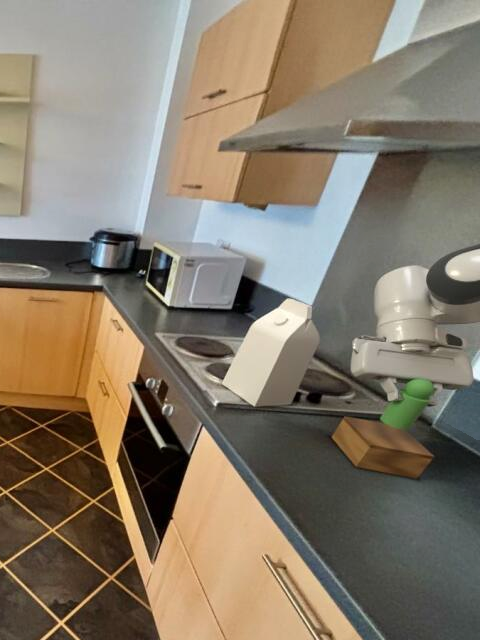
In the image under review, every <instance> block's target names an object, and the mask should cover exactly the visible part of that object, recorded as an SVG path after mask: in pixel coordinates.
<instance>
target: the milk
mask: <svg viewBox="0 0 480 640" xmlns="http://www.w3.org/2000/svg"><path fill="white" fill-rule="evenodd" d="M312 313H313V306H311V305H310V304H306V303H304V302H302V301H299V300H296V299H295V298H286V299H285V300H284V301H282V303H281V304H280V305H279V306H278V307H276V308H275V309H273V310H272V311H270V312H268V313H267V314H265V315H263V316H261V317H260V318H258V319H256V320H255V321H254V322H253V323H252V324H251V325H250V327H249V329H248V331H247V333H246V335H245V337H244V339H243V341H242V342H241V345H240V346H239V348H238V350H237V352H236V354H235V356H234V358H233V359H232V362H231V364H230V366H229V368H228V370H227V372H226V373H225V376H224V378H223V380H222V382H221V384H222V385H223V386H224V387H226V388H227V389H229V390H230V391H231V392H233V393H234V394H236V395H237V396H238V397H240V398H241V399H243V400H244V401H245V402H247V403H248V404H250V405H251V406H252V407H254V408H255V407H258V408H259V407H272V406H273V407H274V406H286V405H287V406H288V405H291V404H292V403H293V401H294V398H295V397H296V394H297V392H298V390H299V388H300V385H301V384H302V381H303V379H304V377H305V375H306V373H307V370H308V368H309V366H310V363H311V361H312V360H313V357H314V355H315V353H316V351H317V349H318V346H319V345H320V342H321V337H320V333H319V331H318V329H317V327H316V326H315V324H314V322H313V320H312V316H313V315H312Z"/></svg>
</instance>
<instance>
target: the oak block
mask: <svg viewBox="0 0 480 640" xmlns="http://www.w3.org/2000/svg"><path fill="white" fill-rule="evenodd" d="M331 438H332V440H333V441H334V442H335V443H336V445H337V446H338V447H339V449H341V451H342V452H343V453H344V454H345V456H346V457H347V458H348V459H349V460H350V461H351V463H352V464H353V465H354V466H355V467H356V468H360V469H365V470H371V471H375V472H381V473H386V474H390V475H395V476H400V477H405V478H410V479H418V478H419V477H420V475H421V474H422V473H423V472H424V470H425V469H426V468H427V467H428V466H429V464H430V463H431V462H432V461H433V459H434V458H435V455H434V454H433V453H431V452H430V451H429V450H428V449H427V448H426V447H425V446H424V445H422V443H420V442H419V441H418V440H417V439H416V438H415V437H414V436H412V435H411V433H409V432H408V430H402V429H397V428H394V427H392V426H389V425H387V424H385V423H384V422H380V421H373V420H367V419H363V418H357V417H351V416H344V417H343V418H342V420H341V421H340V422H339V424H338V425H337V428H336V429H335V431H334V432H333V434H332V436H331Z"/></svg>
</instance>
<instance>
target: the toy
mask: <svg viewBox="0 0 480 640" xmlns="http://www.w3.org/2000/svg"><path fill="white" fill-rule="evenodd" d="M434 389H435V388H434V385H433V384H432V383H431V382H430V381H428V380H425V379H414V380H411V381H410V382H408V383H407V384H405V387H404V388H401V389H399V390H398V392H403V401H399V402H392V401H390V403H389V404H388V406H387V407H386V408H385V410H384V411H383V413H382V414H381V416H380V417H379V420H380V421H381V423H385V424H387V425H389V426H392V427H394V428H397V429H402V430H406V431H408V430H410V429H411V428H412V427H413V425H414V424H415V423H416V422H417V420H418V419H419V417H420V416H421V414H422V413H423V412H424V411H425V410H426V408H427V407H428V406H427V405H428V404H429V403H430V401H431V399H430V398H429V396H431V395H432V394H433V392H434Z"/></svg>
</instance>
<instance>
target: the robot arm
mask: <svg viewBox="0 0 480 640" xmlns="http://www.w3.org/2000/svg"><path fill="white" fill-rule="evenodd" d="M373 312H374V315H375V317H376V319H377V324H376V328H375V335H374V336H373V335H367V334H361V335H359V336H356V337H354V338H353V340H352V342H351V345H352V353H351V360H350V373H351V374H352V375H353V377H355V378H360V379H366V380H374V381H379V385H380V387H381V388H382V389H383V390H384V392H385V393H386V394H387V397H386V398H387V401H388V402H391V401H392V402H399V401H403V392H398V391H399V390H398V388H397V386H396V385H395V384H396V383H397V384H403V385H406V384H407V383H408V382H410V381H411V380H414V379H425V380H428V381H430V382H431V383H432V384H433V385H434V388H435V389H434V392H433V394H432V395H431V396H429V398H430V399H431V401H430V403H429V404H428V405H427V407H429V408H431V407H436V406H437V405H438V397H439V396H440V394H441V393H442V391H443V390H449V391H456V390H461V389H464V388H468V387H470V386H471V385H472V384H473V382H474V371H473V370H474V369H473V365H472V361H471V358H470V356H469V354H468V353H467V352H466V351H464V350H465V349H467V348H468V344H469V343H468V340H467V339H465V338H463V337H462V336H458V335H455V334H453V333H451V332H449V331H446V330H444V329H443V328H440V327H437V325H464V324H466V325H468V324H475V323H478V322H480V243H478V244H475V245H471V246H467V247H465V248H461V249H458V250H455V251H452V252H450V253H448V254H445V255H444V256H442V257H440V258H439V259H438V260H436V262H434V263H433V264H432V265H431V267H430V268H426V267H423V266H421V265H416V264H415V265H407V266H402V267H398V268H395V269H393V270H391V271H389V272H386V273H385V274H384V275H382V276H381V277H380V278H379V279H378V281H377V282H376V284H375V287H374V293H373Z"/></svg>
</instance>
